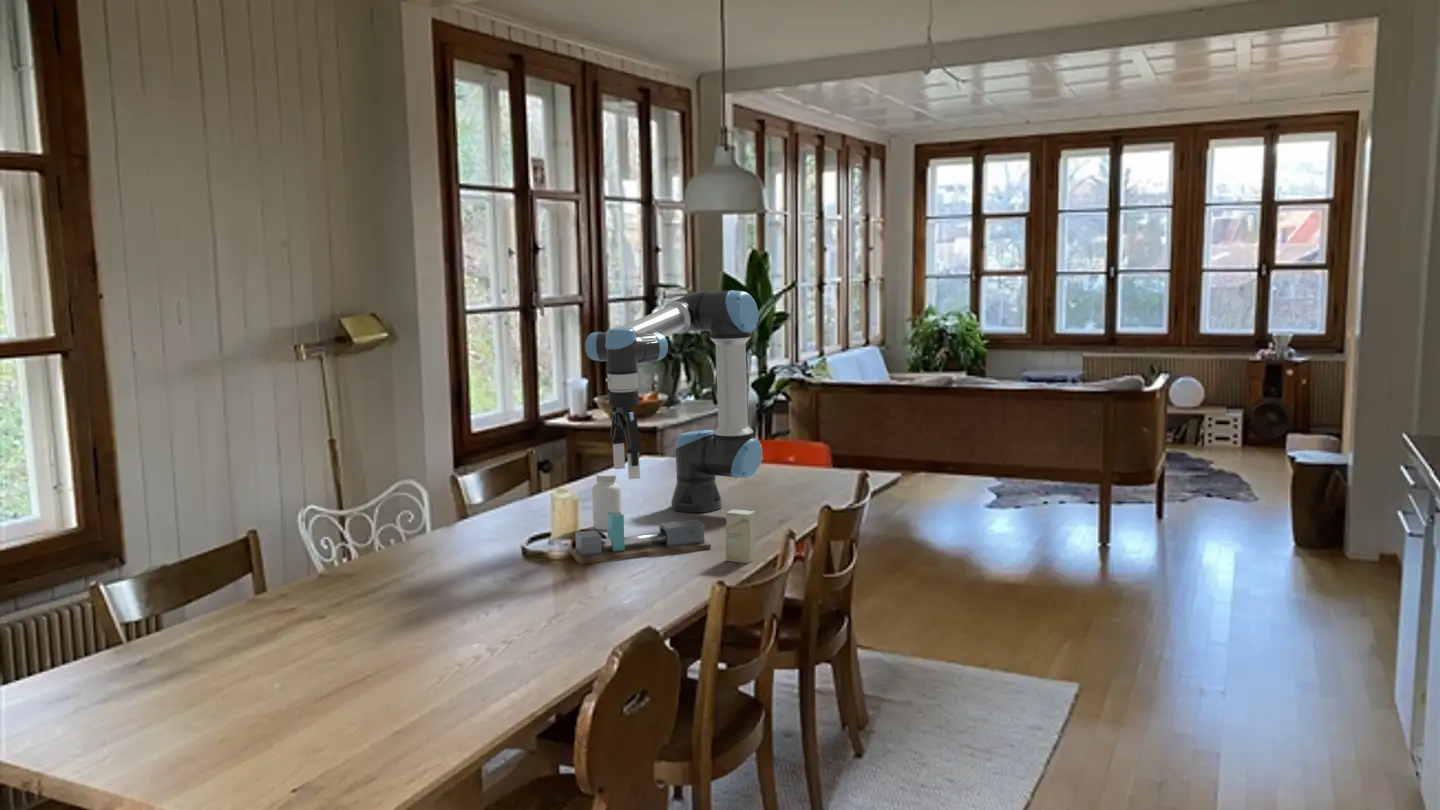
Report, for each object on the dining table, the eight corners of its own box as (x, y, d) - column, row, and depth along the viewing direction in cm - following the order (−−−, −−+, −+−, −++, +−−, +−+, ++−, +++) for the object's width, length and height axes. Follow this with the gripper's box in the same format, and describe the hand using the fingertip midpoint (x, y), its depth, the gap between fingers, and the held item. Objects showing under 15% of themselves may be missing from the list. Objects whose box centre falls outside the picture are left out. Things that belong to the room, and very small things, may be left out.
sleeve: (696, 537, 271) (696, 519, 271) (704, 542, 266) (704, 524, 265) (659, 541, 268) (659, 523, 267) (667, 547, 262) (666, 528, 262)
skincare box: (725, 561, 253) (724, 512, 251) (732, 556, 257) (731, 508, 255) (749, 563, 250) (748, 514, 249) (756, 559, 254) (755, 510, 253)
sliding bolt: (668, 540, 268) (667, 506, 267) (674, 545, 264) (673, 510, 262) (580, 550, 260) (579, 515, 259) (585, 555, 255) (584, 519, 254)
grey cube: (595, 548, 262) (594, 530, 261) (601, 554, 256) (600, 535, 256) (576, 551, 260) (575, 532, 260) (581, 556, 255) (581, 537, 254)
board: (697, 540, 274) (697, 535, 274) (710, 548, 265) (710, 544, 264) (570, 554, 262) (570, 549, 262) (579, 564, 253) (579, 559, 252)
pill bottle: (624, 524, 293) (622, 471, 291) (618, 530, 285) (617, 477, 284) (596, 523, 294) (595, 471, 292) (590, 530, 286) (588, 477, 284)
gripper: (596, 386, 270) (599, 466, 273) (622, 396, 247) (626, 484, 250) (623, 383, 273) (627, 463, 276) (652, 394, 250) (655, 481, 253)
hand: (626, 473), depth 263 cm, fingers open, 13 cm apart
